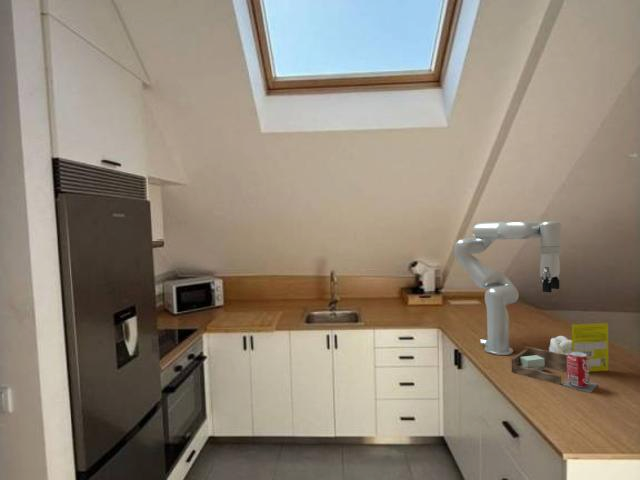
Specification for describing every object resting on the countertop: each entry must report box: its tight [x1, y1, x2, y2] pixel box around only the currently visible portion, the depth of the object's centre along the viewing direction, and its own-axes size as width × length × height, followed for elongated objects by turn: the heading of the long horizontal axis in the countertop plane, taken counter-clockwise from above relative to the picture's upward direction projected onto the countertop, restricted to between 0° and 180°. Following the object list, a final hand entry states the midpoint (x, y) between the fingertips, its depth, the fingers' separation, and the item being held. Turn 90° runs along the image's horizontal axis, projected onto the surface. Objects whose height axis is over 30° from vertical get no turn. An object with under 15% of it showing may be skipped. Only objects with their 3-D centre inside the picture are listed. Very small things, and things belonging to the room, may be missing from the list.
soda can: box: [566, 351, 590, 388], centre depth 144 cm, size 7×7×12 cm
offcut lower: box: [520, 365, 545, 372], centre depth 161 cm, size 5×9×3 cm, turn 122°
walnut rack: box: [511, 346, 568, 385], centre depth 159 cm, size 18×16×7 cm
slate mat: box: [562, 380, 598, 394], centre depth 145 cm, size 9×9×1 cm
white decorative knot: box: [548, 335, 572, 355], centre depth 174 cm, size 11×12×9 cm
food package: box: [571, 322, 609, 373], centre depth 157 cm, size 15×1×20 cm, turn 92°
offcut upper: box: [520, 355, 545, 368], centre depth 161 cm, size 4×8×3 cm, turn 101°
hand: (551, 290), depth 163 cm, fingers open, 9 cm apart
